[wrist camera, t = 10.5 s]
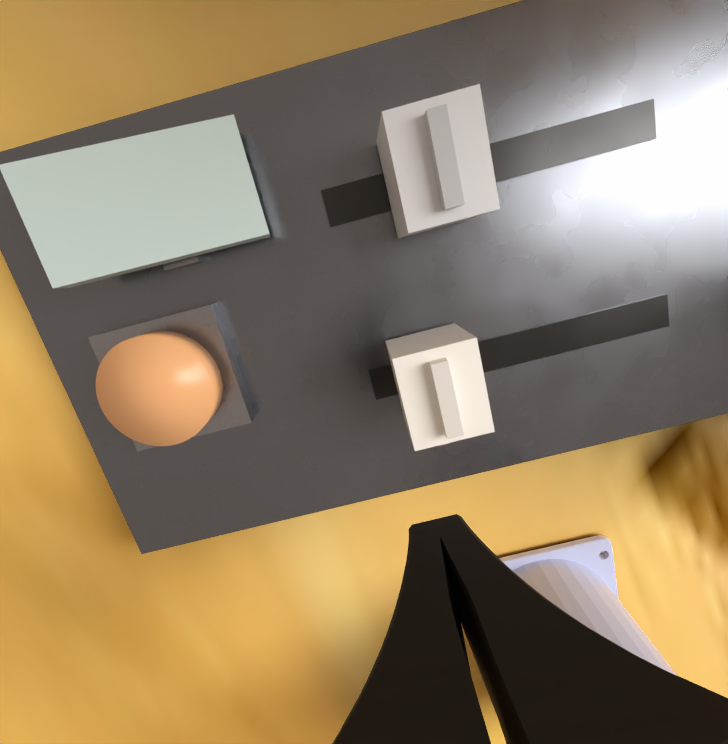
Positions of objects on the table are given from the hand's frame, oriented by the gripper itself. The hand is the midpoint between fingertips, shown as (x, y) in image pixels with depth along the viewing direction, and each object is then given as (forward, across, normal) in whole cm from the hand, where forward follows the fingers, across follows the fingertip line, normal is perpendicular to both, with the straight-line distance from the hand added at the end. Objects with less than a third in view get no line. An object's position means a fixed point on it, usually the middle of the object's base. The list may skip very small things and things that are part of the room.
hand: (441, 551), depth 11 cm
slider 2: (+8, -2, -2) cm, 9 cm away
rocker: (+7, +7, -11) cm, 15 cm away
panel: (+10, -1, -6) cm, 12 cm away
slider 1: (+8, -3, -10) cm, 13 cm away
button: (+8, +9, -5) cm, 13 cm away
